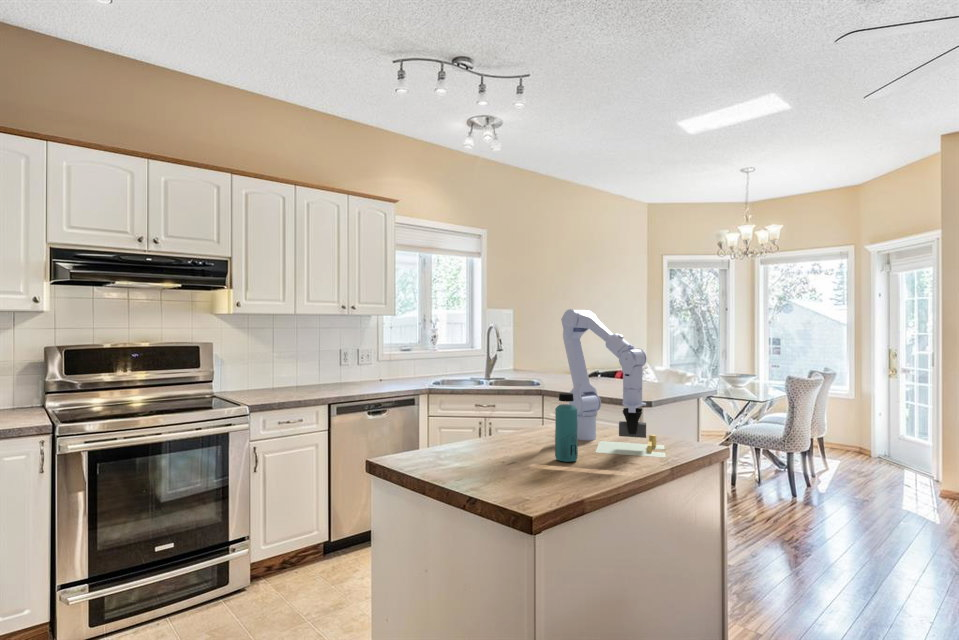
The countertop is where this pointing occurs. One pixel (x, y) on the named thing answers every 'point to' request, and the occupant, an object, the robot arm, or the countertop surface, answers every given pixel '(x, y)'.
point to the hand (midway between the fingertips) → (632, 432)
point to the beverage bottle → (566, 429)
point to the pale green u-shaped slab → (631, 448)
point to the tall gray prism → (624, 433)
